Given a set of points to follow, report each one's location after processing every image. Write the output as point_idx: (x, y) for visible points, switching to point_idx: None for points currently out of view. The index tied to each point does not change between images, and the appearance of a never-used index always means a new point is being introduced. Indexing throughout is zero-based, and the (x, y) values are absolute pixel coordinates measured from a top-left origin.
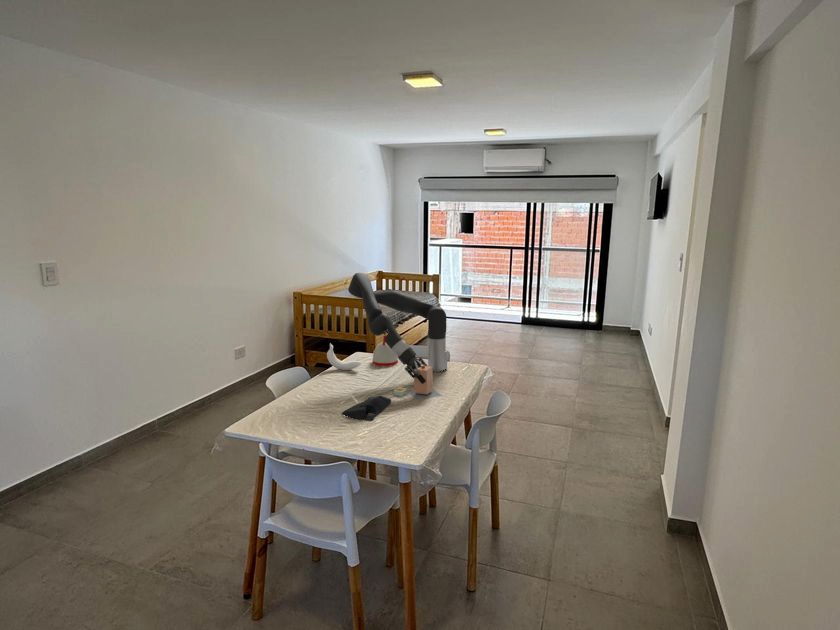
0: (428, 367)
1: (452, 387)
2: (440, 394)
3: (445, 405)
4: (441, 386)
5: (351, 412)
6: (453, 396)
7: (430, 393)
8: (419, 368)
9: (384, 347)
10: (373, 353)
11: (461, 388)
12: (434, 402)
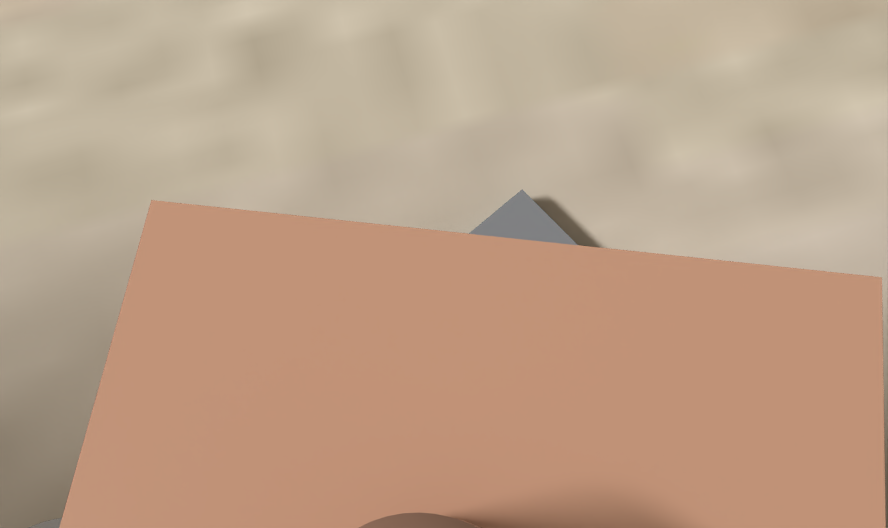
0: (300, 352)
1: (38, 164)
2: (477, 231)
3: (882, 51)
4: (3, 354)
5: None
6: (448, 46)
7: None
8: None
9: None
10: None
11: (71, 30)
12: (830, 249)
